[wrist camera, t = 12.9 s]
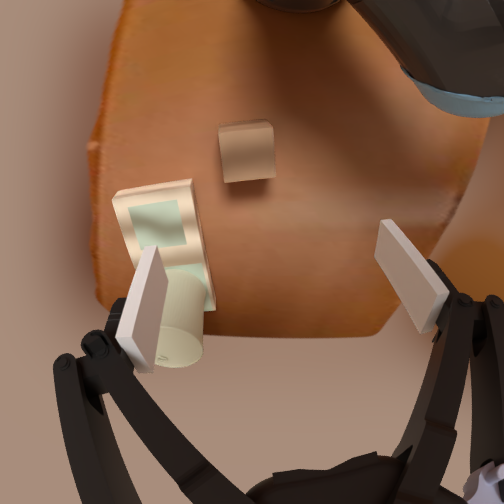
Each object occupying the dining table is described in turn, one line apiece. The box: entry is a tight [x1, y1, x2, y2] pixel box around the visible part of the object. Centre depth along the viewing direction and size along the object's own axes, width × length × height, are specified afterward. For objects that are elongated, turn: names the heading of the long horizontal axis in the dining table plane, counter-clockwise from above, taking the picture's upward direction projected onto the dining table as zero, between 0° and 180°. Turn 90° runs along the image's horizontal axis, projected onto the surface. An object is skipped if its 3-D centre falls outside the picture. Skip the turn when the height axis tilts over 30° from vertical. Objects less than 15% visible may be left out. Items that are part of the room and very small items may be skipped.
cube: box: [218, 119, 276, 183], centre depth 35 cm, size 6×6×6 cm
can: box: [155, 269, 206, 368], centre depth 41 cm, size 9×9×12 cm
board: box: [112, 178, 216, 311], centre depth 44 cm, size 22×11×3 cm, turn 5°
